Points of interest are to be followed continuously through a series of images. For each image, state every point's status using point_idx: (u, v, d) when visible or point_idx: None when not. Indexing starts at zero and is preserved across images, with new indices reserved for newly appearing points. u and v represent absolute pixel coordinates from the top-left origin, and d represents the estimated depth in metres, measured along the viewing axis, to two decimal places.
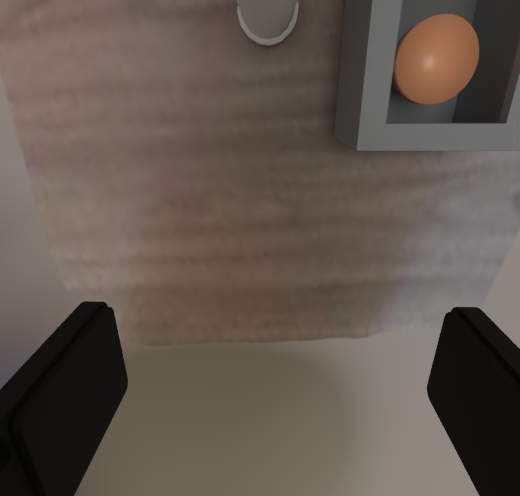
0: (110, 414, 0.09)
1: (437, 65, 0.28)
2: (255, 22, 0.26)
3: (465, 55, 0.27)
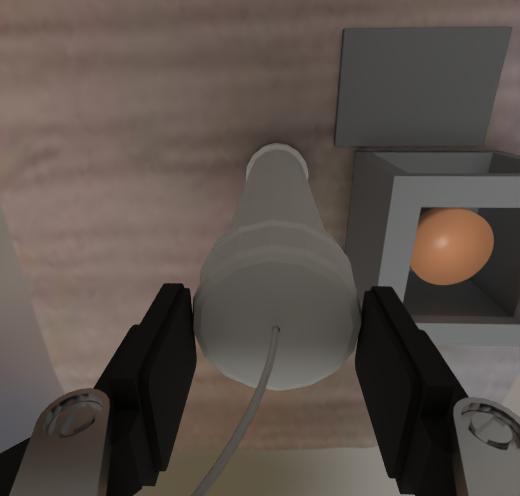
0: (188, 386, 0.10)
1: (451, 252, 0.27)
2: None
3: (479, 245, 0.27)
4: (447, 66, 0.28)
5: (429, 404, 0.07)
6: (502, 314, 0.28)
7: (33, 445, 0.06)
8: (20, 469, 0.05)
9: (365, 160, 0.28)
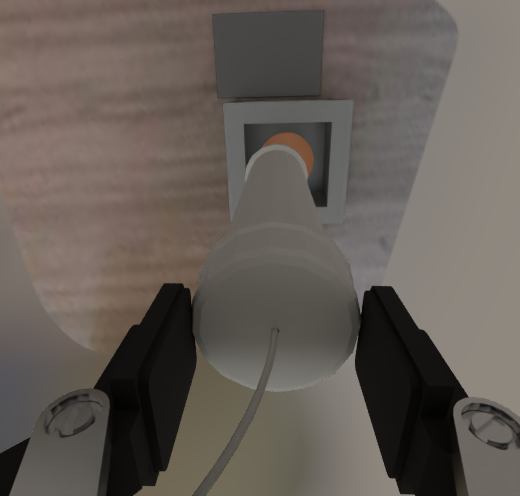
0: (188, 386, 0.10)
1: None
2: None
3: (304, 158, 0.40)
4: (285, 38, 0.41)
5: (429, 404, 0.07)
6: None
7: (33, 445, 0.06)
8: (20, 469, 0.05)
9: None
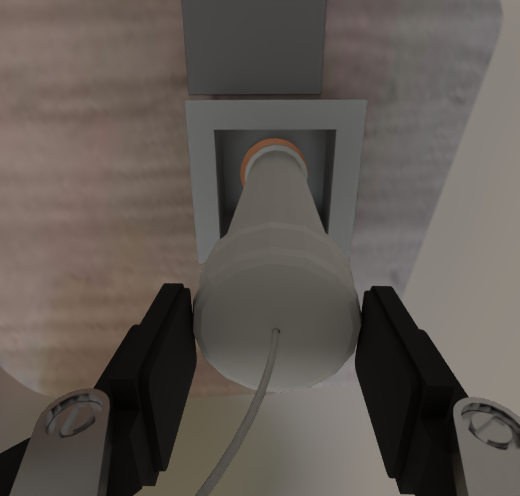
0: (188, 386, 0.10)
1: None
2: None
3: None
4: (276, 18, 0.31)
5: (429, 404, 0.07)
6: None
7: (33, 445, 0.06)
8: (20, 469, 0.05)
9: None
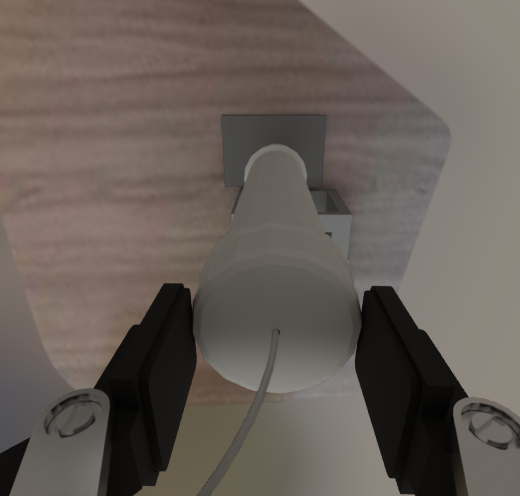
0: (188, 386, 0.10)
1: None
2: None
3: None
4: (289, 138, 0.44)
5: (429, 404, 0.07)
6: None
7: (33, 445, 0.06)
8: (20, 469, 0.05)
9: (237, 198, 0.44)
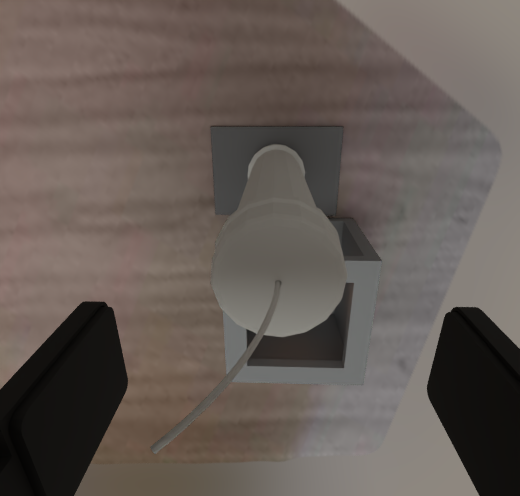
0: (110, 414, 0.09)
1: None
2: None
3: None
4: None
5: None
6: (341, 357, 0.34)
7: None
8: None
9: None
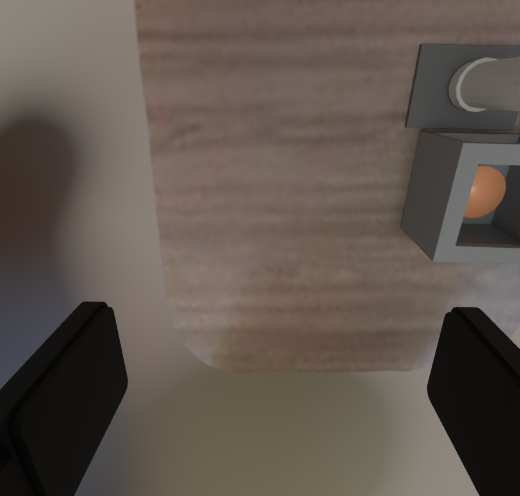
0: (110, 414, 0.09)
1: (478, 195, 0.42)
2: (504, 109, 0.33)
3: (496, 190, 0.42)
4: None
5: None
6: None
7: None
8: None
9: (432, 136, 0.40)
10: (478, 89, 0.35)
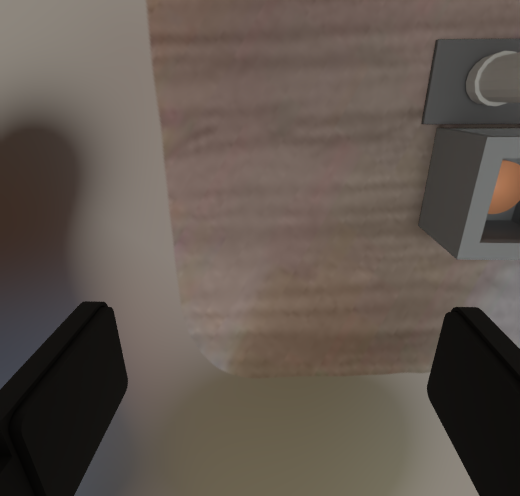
0: (110, 414, 0.09)
1: (499, 190, 0.41)
2: None
3: (518, 185, 0.41)
4: None
5: None
6: None
7: None
8: None
9: (451, 132, 0.40)
10: (499, 83, 0.35)
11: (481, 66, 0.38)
